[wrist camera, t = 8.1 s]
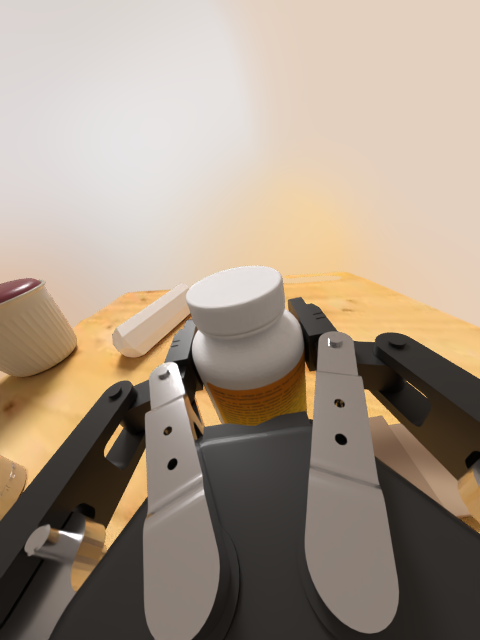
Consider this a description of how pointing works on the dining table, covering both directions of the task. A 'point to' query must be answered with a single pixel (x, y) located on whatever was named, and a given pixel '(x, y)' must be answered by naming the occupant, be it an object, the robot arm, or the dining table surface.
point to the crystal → (152, 323)
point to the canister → (31, 329)
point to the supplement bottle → (247, 345)
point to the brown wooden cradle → (416, 464)
